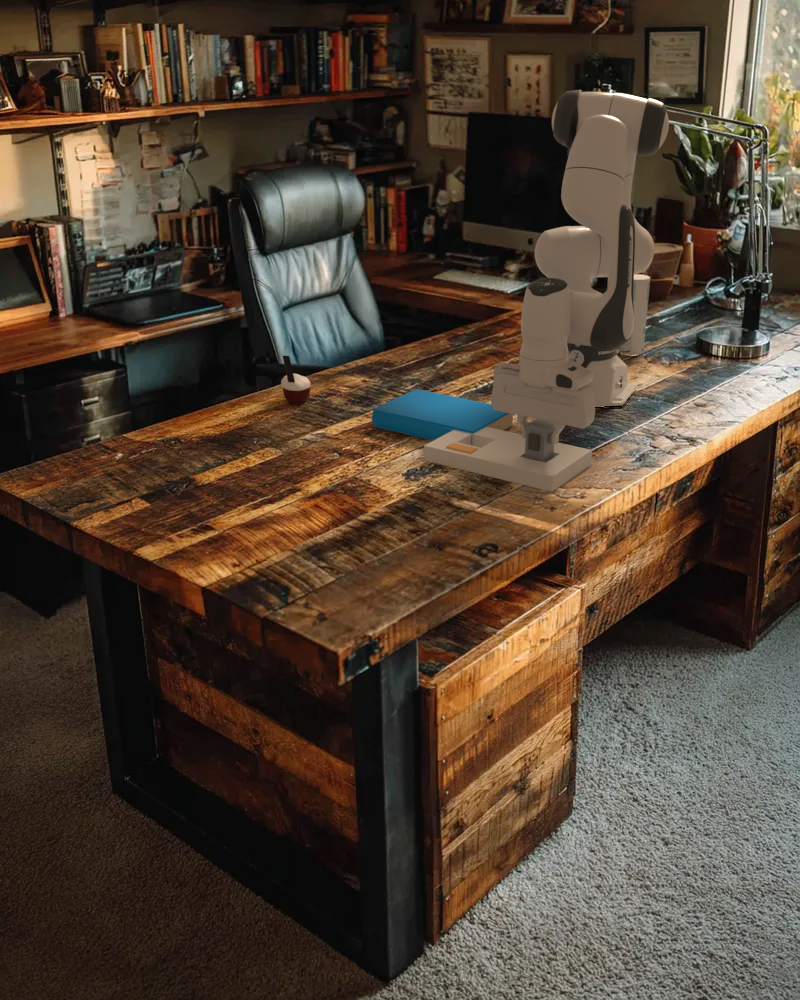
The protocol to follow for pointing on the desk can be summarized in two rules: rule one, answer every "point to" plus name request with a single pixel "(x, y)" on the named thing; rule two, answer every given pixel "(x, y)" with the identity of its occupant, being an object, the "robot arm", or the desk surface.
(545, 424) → the plug
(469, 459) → the socket board
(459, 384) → the desk surface
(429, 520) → the desk surface
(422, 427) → the book
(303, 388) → the cocoa
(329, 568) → the desk surface
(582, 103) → the robot arm
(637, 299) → the spray can
